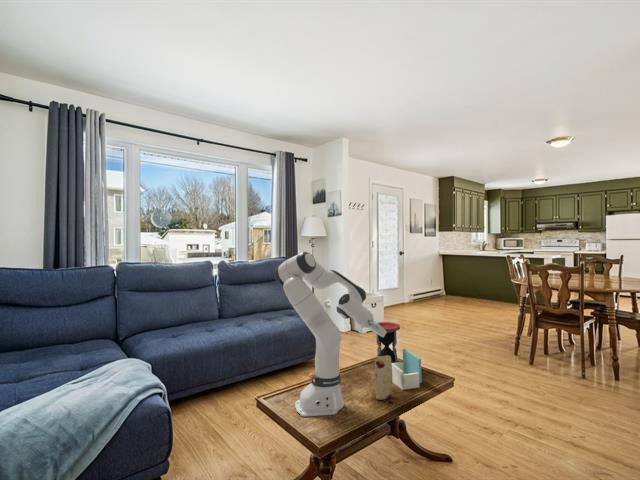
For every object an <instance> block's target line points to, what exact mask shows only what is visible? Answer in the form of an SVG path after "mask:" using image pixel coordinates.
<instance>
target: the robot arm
mask: <svg viewBox="0 0 640 480" xmlns="http://www.w3.org/2000/svg"><path fill="white" fill-rule="evenodd" d="M273 273H274V279H275V281H276V282H277V283H278V284H279V285H280V286H282V289H283V292H284V294H285V296H286V298H287V299H288V301H289V303H290V304H291V306H292V307H293V309H294V310H295V311H296V313H297V314H298V316H299V317H300V319H301V320H302V321H303V322H304V324H305V325H306V327H307V328H308V329H309V331H310V332H311V333H312V334H313V336H314V337H315V356H314V367H315V369H314V370H315V373H314V374H313V373H309V374H308V378H309V379H310V381H311V382H310V383H308V385H307V386H306V387H304V388H303V389H302V390H301V391H300V394H299V399H298V400H296V401H295V403H294V409H295V408H296V409H295V412H296V413H297V412H298V413H299V414H300V415H299V414H298V413H297V414H298V415H299V416H301V417H315V416H316V417H318V416H319V417H320V416H331V415H332V416H333V415H336V414H337V413H338V412H339V411H340V410H341V409H343V407H344V406H345V402H344V400H343V399H344V398H343V396H342V390H341V386H342V385H341V384H342V378H341V373H340V352H341V351H340V350H341V349H340V348H341V341H342V334H341V331H340V329H339V327H338V326H337V324H336V323H335V322H334V321H333V320H332V317H330V315H329V314H328V312H327V311H326V309H325V308H324V306H323V305H322V303H321V302H320V300H319V299H318V298H317V296H316V295H315V293H314V292H313V290H312V289H311V288H310V287H309V285H310V286H311V287H312V288H313V289H315V290H325V289H327V288H329V287H331V286H332V285H335V284H336V283H339V284H340V285H342V286H343V287H344V288H346V289H347V292H345V294H343V295H342V296H341V297H340V298H339V300H338V301H337V302H338V303H337V305H336V308H335V309H336V312H337V313H338V314H339V315H340V316H341V317H342V318H343V319H351V318H352V320H353V321H354V322H355V323H356V324H357V325H358V326H359V327H361V328H365V329H368V330H370V331H372V332H373V333H375V334H378V335H380V336H381V337H384V336H385V334H386V333H387V331H386V330H385V329H384V328H383V327H381V326H380V325H379V324H378V323H379V322H377V321H375V319H374V314H373V313H372V312H371V311H370V310H369V309H368V308H367V307H365V306H363V303H364V301H365V300H366V299H367V292H366V291H365V289H363V288H362V287H360V286H359V285H357V284H355V282H353V281H351V280H350V279H349V278H347V277H345V275H343V274H341V273H340V272H338V271H336V270H333V269H330V270H328V269H326V268H324V266H322V264H321V263H319V262H318V261H317V260H316V259H315V256H314V255H312V254H311V253H310V252H307V251H302V252H300V253H297V254H296V255H294V256H292V257H290V258H288V259H286V260H285V261H283V262H282V263H281V264H278V266H277V267H276V268H275V269H274V272H273ZM304 280H305V281H306V282H305V281H304Z"/></svg>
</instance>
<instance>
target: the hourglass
mask: <svg viewBox="0 0 640 480" xmlns="http://www.w3.org/2000/svg"><path fill="white" fill-rule="evenodd" d="M377 323H378V324H379V325H380V326H381V327H383V328H384V329H385V330H386V331H387V333H386V334H385V336H384V337H381V336H380V335H378V334H376V333H375V334H376V345H377V349H376V350H377V354H376V357H377V356H386V355H389V356H390V357H391V362H392V363H397V362H398V354H397V348H396V346H397V344H398V341H397V340H398V338H397V331H399V330H400V329H401V325H400V324H399V323H396V322H390V321H380V322H377ZM382 345H383V347H382ZM390 345H392V348H391V347H390ZM373 369H374V370H375V362H373Z"/></svg>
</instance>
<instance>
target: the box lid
mask: <svg viewBox="0 0 640 480" xmlns="http://www.w3.org/2000/svg"><path fill="white" fill-rule="evenodd" d="M402 362H403V363H404V372H405V373H406V374H411V373H417V372H418V373H419V384H421V383H422V381H423V380H422V377H423V376H422V359H421V358H420V357H418V356H417V355H415V354H414V353H412V352H410V351H409V350H407V349H405V348H402Z"/></svg>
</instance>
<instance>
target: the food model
mask: <svg viewBox="0 0 640 480" xmlns="http://www.w3.org/2000/svg"><path fill="white" fill-rule="evenodd" d="M374 363H375V369H374V372H373V373H374V378H373V379H374V390H375V398H376V399H377V400H387V399H390V398H391V397H392V394H393V393H392V391H393V382H392V379H393V376H392V362H391V357H390V356H389V355H386V356H377V355H376V357H375V358H374Z"/></svg>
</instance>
